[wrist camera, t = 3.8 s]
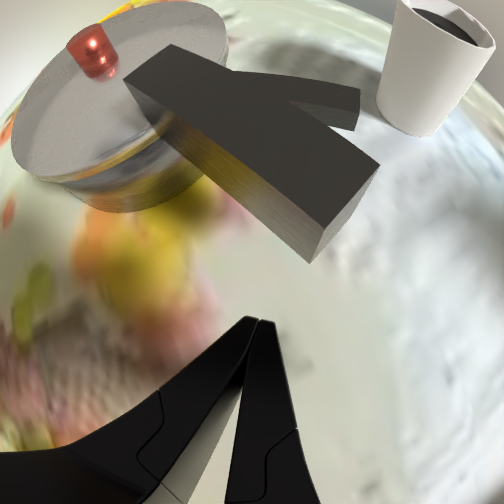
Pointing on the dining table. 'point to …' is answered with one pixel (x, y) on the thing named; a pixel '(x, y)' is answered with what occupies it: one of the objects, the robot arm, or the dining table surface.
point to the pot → (183, 171)
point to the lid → (189, 121)
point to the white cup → (430, 64)
